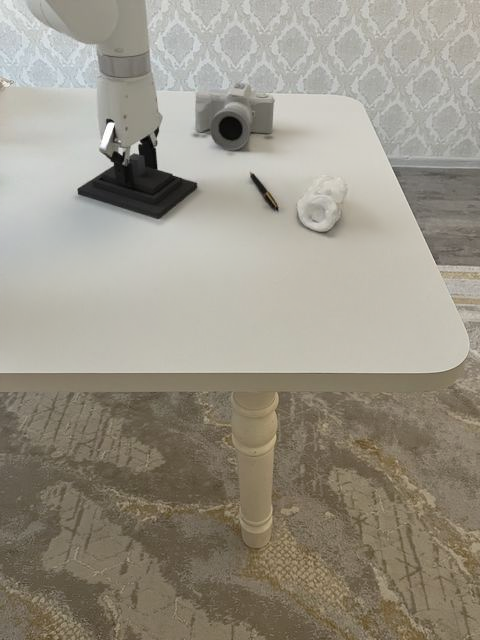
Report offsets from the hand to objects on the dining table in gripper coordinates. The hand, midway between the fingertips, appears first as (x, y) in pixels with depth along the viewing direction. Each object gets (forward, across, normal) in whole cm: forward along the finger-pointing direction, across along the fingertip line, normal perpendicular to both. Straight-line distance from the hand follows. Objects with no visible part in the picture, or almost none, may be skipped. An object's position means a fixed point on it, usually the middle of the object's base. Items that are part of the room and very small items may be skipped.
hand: (137, 176), depth 99 cm
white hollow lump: (+3, -8, +30) cm, 31 cm away
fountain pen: (+3, -10, +18) cm, 21 cm away
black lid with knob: (+1, 0, 0) cm, 1 cm away
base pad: (+3, 0, 0) cm, 3 cm away
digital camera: (+3, -28, +2) cm, 28 cm away
